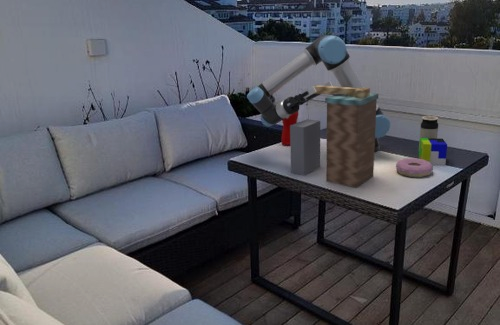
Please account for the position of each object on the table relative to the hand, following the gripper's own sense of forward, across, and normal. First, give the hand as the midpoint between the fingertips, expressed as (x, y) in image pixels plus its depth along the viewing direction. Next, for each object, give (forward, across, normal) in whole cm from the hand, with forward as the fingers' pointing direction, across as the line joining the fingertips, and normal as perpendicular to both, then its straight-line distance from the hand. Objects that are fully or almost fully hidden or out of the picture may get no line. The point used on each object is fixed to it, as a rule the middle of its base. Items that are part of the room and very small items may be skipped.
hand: (323, 86), depth 186 cm
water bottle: (-54, -32, -14) cm, 65 cm away
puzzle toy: (+10, -40, -51) cm, 66 cm away
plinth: (-28, 0, -29) cm, 40 cm away
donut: (+9, -22, -51) cm, 56 cm away
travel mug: (+5, -52, -48) cm, 71 cm away
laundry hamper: (-8, 0, -40) cm, 41 cm away
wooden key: (+5, 0, -6) cm, 8 cm away
